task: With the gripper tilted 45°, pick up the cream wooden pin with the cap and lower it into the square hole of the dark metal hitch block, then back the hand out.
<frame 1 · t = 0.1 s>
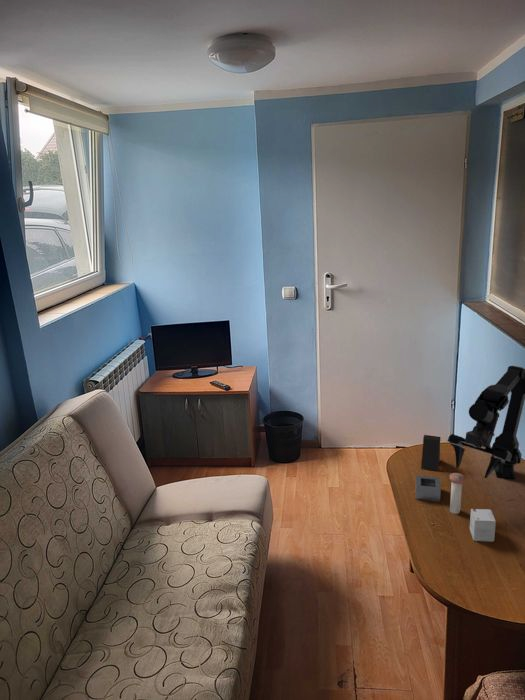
hand: (471, 473, 166), 15 cm above the table, tool tilted 35°, fingers open, 9 cm apart
hitch block: (427, 493, 182), on the table
skincare box: (481, 535, 160), on the table
phone stand: (430, 464, 200), on the table
pin: (454, 511, 171), on the table
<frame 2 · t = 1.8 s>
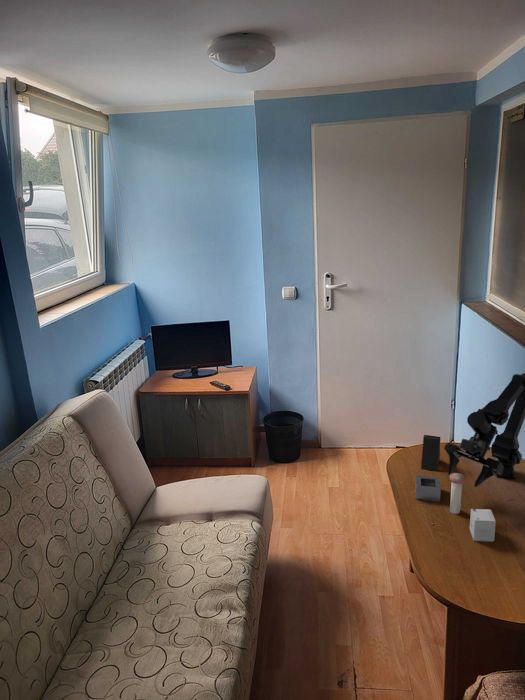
hand: (461, 480, 170), 10 cm above the table, tool tilted 45°, fingers open, 9 cm apart
nothing on the table moved.
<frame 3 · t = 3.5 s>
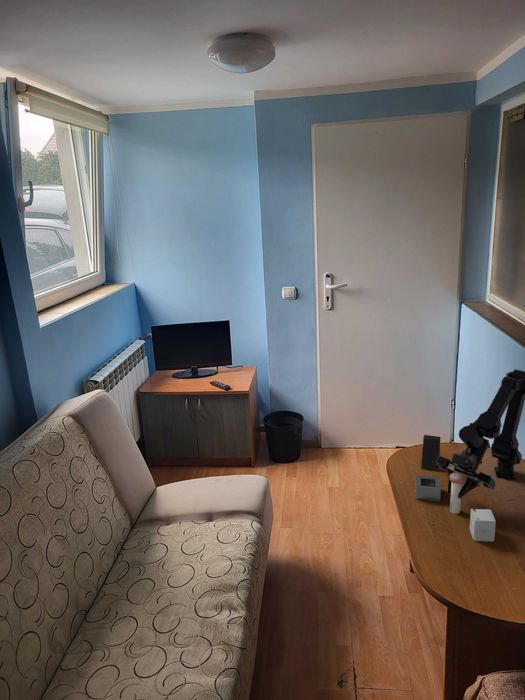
hand: (453, 495, 169), 7 cm above the table, tool tilted 45°, fingers closed on pin, 3 cm apart
pin: (454, 511, 171), on the table, touching gripper
everything else where it was.
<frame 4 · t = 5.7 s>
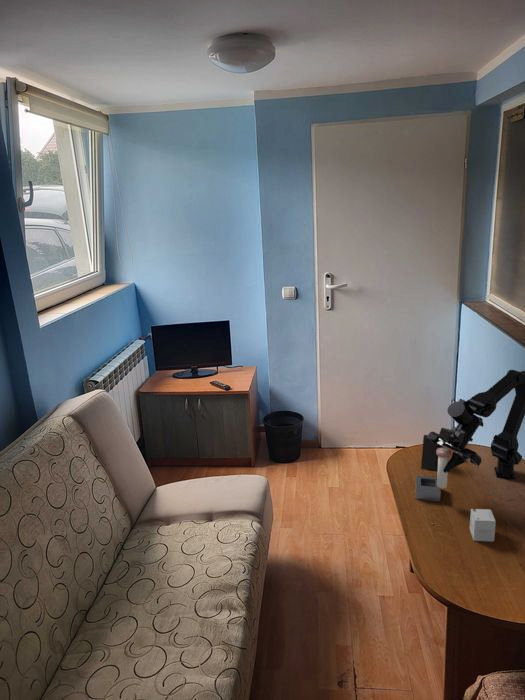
hand: (439, 469, 171), 14 cm above the table, tool tilted 45°, fingers closed on pin, 3 cm apart
pin: (441, 485, 174), point 7 cm above the table, touching gripper
everything else where it was.
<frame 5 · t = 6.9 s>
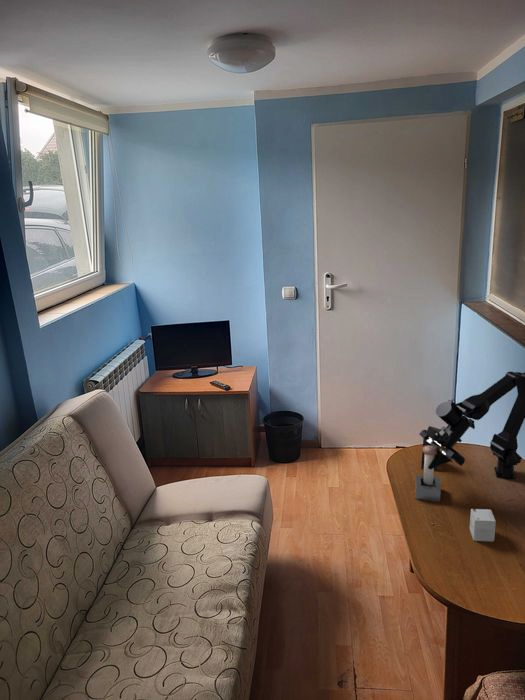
hand: (425, 466, 178), 11 cm above the table, tool tilted 45°, fingers closed on pin, 3 cm apart
pin: (428, 481, 180), point 5 cm above the table, touching gripper
everything else where it was.
when the fingers open (8 cm above the table, at t = 7.8 s): pin drops 1 cm, resting in hitch block.
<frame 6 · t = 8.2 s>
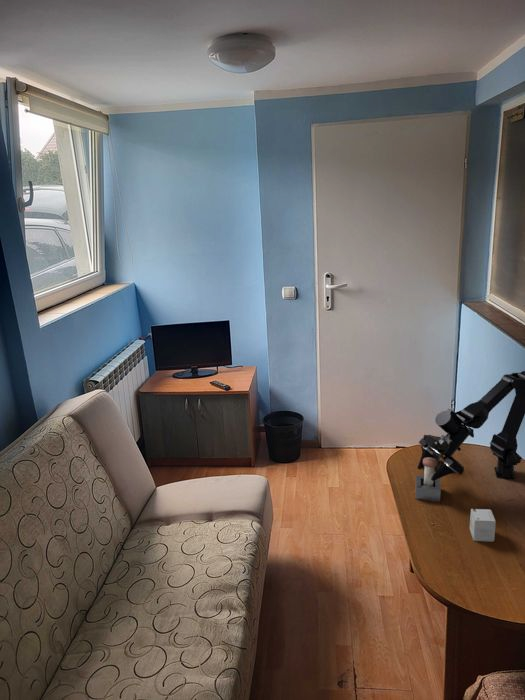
hand: (425, 474, 179), 8 cm above the table, tool tilted 45°, fingers open, 7 cm apart
pin: (427, 493, 181), resting in hitch block
everything else where it was.
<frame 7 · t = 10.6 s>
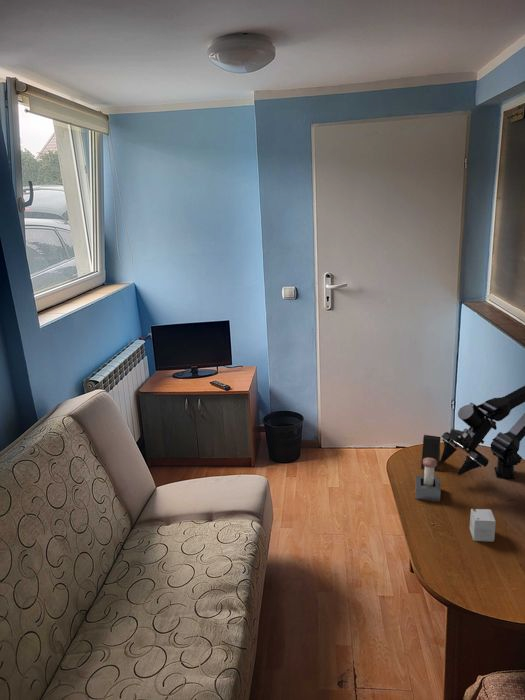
hand: (449, 468, 181), 8 cm above the table, tool tilted 40°, fingers open, 9 cm apart
nothing on the table moved.
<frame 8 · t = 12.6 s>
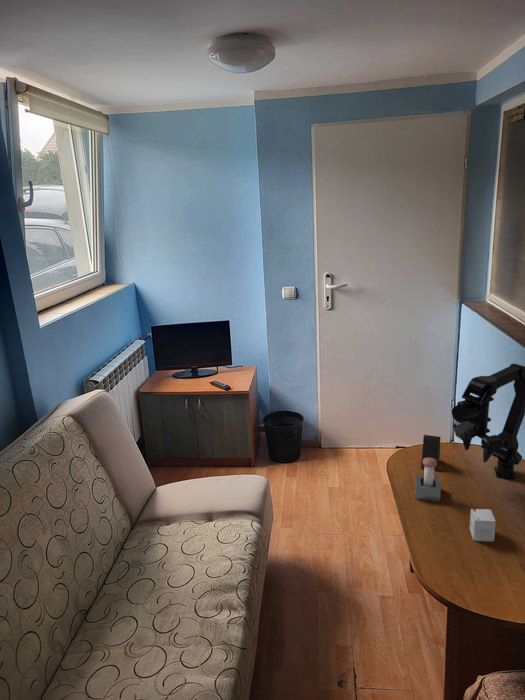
hand: (475, 455, 179), 13 cm above the table, tool pointing down, fingers open, 9 cm apart
nothing on the table moved.
at the end: pin 0.2 cm off-centre on the hitch block, point 0.0 cm above the hitch block's base; pin tilted 0°; the gripper is holding nothing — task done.
